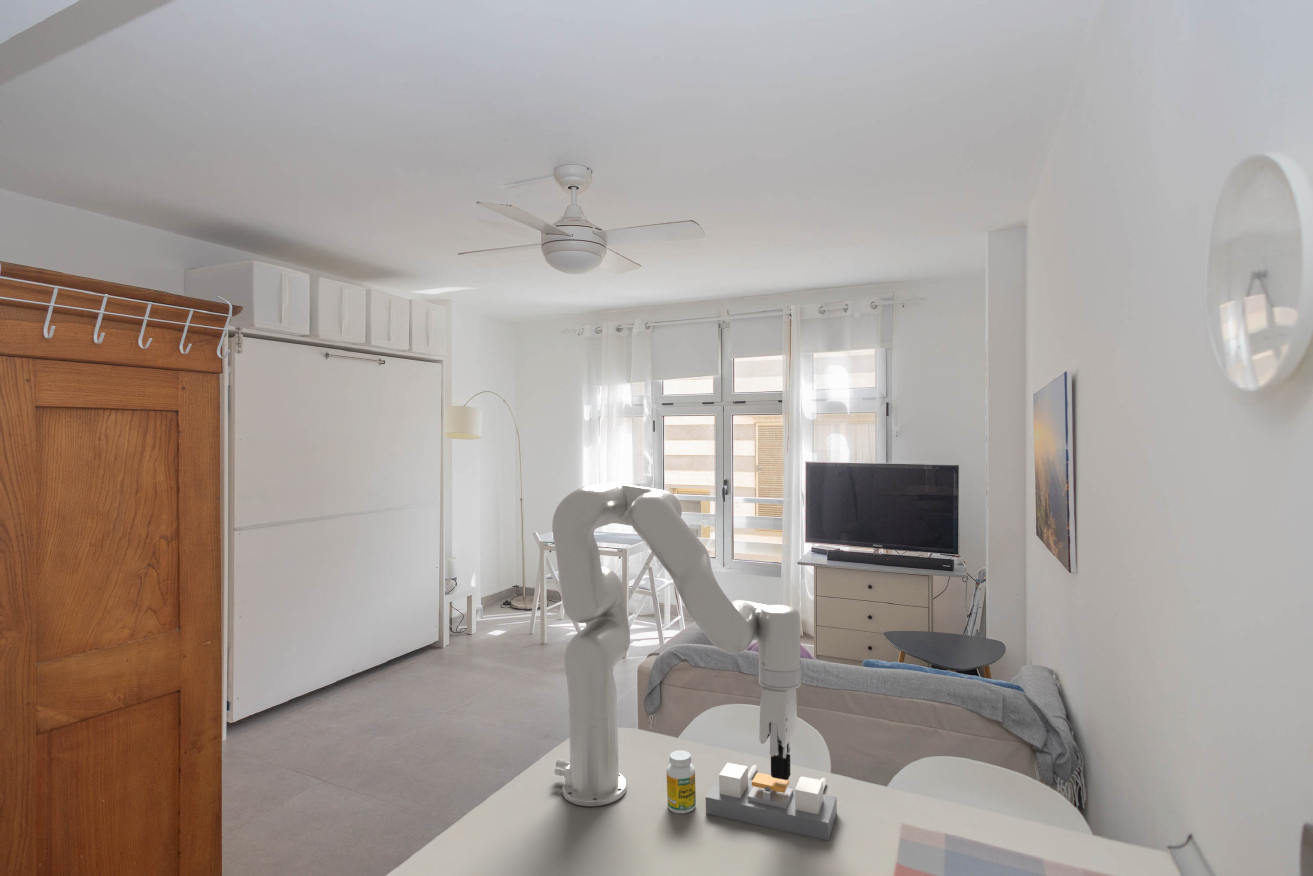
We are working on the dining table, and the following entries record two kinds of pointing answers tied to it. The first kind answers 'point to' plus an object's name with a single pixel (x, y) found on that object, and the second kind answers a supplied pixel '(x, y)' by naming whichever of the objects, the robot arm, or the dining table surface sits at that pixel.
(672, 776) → the supplement bottle
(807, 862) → the dining table surface
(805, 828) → the power strip
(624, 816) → the dining table surface
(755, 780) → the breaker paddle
